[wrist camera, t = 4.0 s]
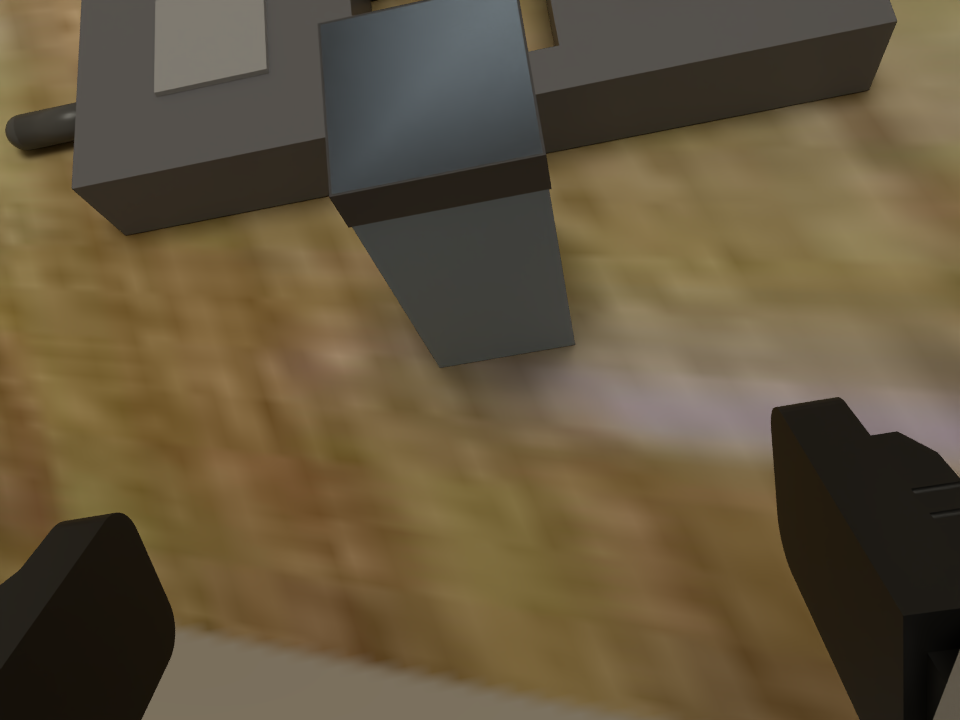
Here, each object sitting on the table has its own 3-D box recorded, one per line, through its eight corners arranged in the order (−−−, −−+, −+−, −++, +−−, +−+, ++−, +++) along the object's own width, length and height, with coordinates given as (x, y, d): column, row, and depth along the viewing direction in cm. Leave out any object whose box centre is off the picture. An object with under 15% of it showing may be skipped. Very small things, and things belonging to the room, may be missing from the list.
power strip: (795, -128, 30) (815, -227, 26) (868, 90, 26) (902, 7, 23) (28, 44, 33) (-39, -26, 29) (11, 257, 29) (-66, 206, 26)
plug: (555, 221, 27) (515, -20, 17) (577, 345, 25) (545, 154, 16) (424, 246, 27) (317, 23, 18) (438, 369, 26) (329, 197, 16)
